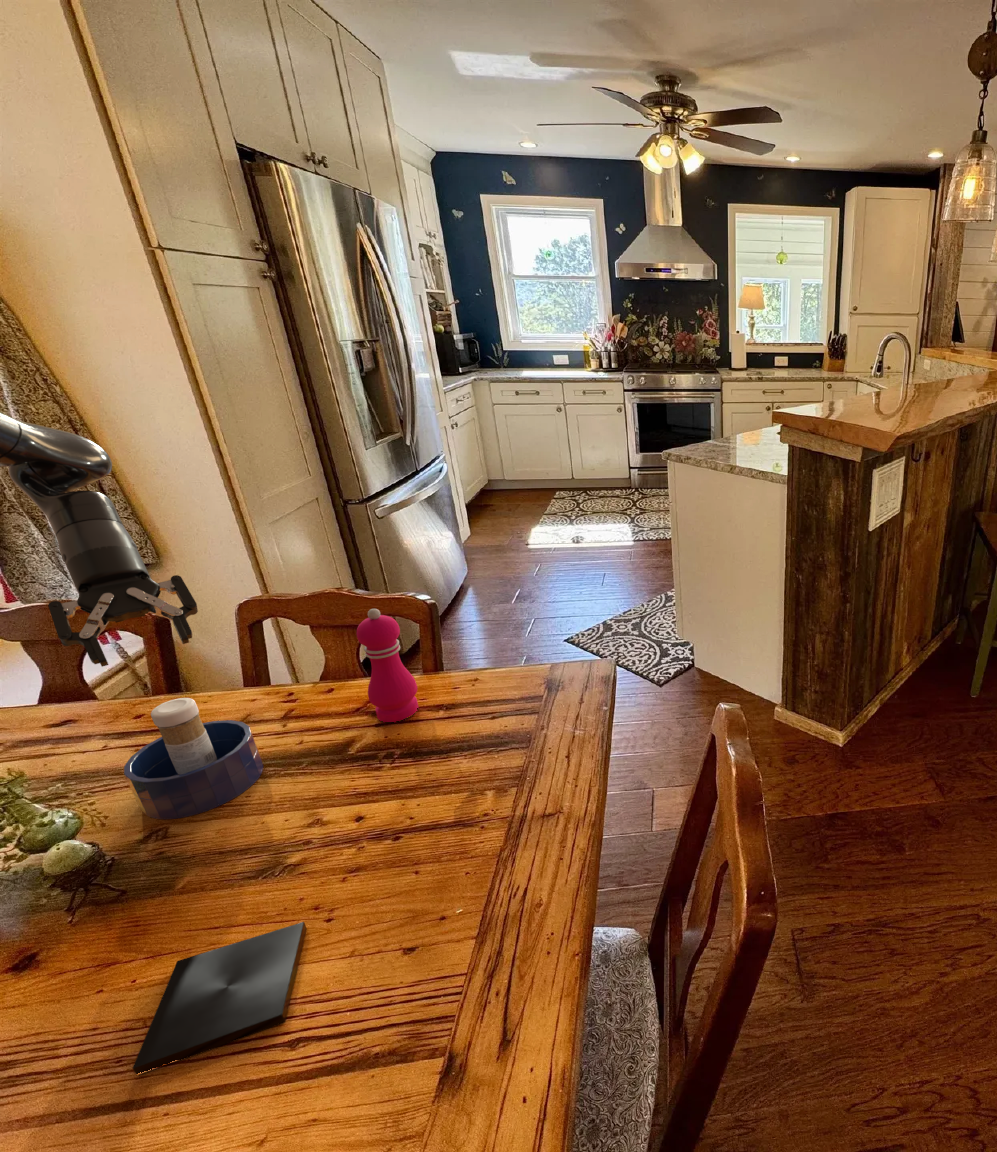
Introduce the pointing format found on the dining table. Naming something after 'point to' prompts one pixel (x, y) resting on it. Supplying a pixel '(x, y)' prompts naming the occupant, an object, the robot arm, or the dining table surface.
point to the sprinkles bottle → (184, 734)
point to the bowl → (195, 774)
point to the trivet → (223, 996)
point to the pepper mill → (387, 669)
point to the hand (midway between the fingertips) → (146, 652)
